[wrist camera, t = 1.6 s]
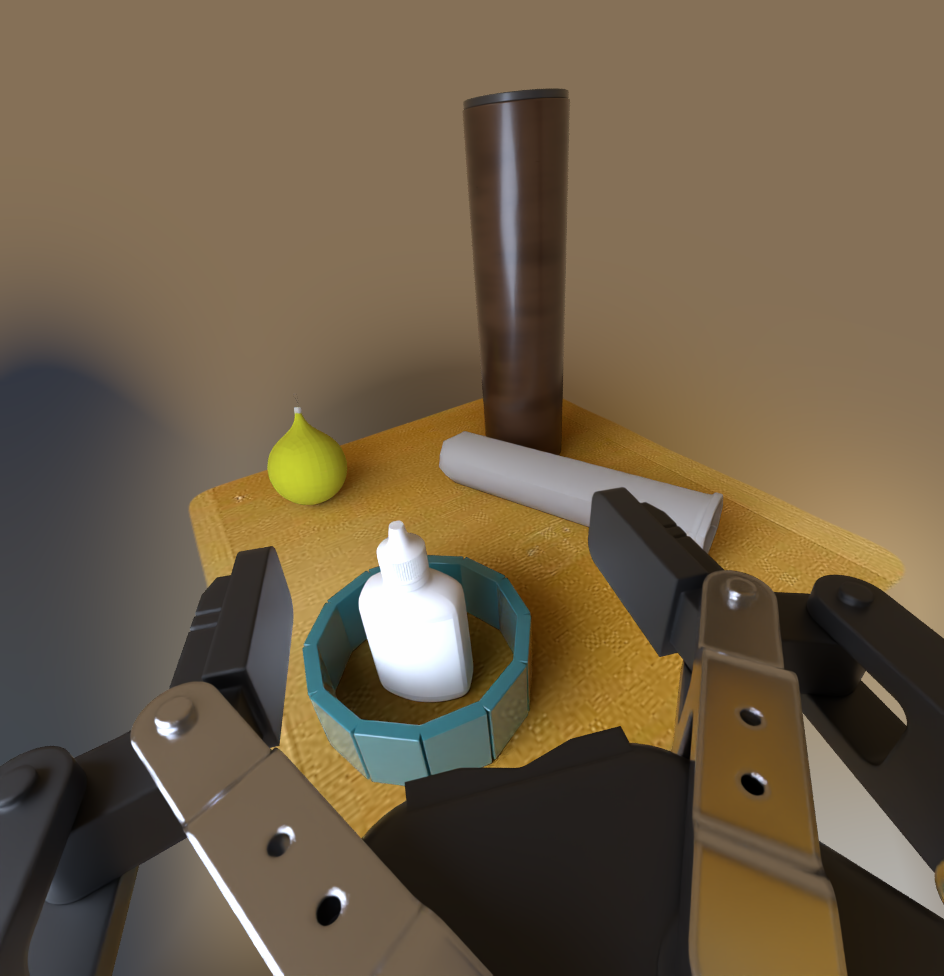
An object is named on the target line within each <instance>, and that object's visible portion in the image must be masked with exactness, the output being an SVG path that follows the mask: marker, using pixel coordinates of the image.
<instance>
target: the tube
mask: <svg viewBox="0 0 944 976" xmlns="http://www.w3.org/2000/svg"><path fill="white" fill-rule="evenodd" d="M439 467H440V468H441V470H442V471H443V472H444V473H445V474H446V475H447V476H448V477H449V478H451V479H452V480H453V481H454V482H455V483H458V484H461V485H464V486H467V487H470V488H473V489H476V490H479V491H482V492H485V493H488V494H491V495H494V496H497V497H500V498H503V499H506V500H509V501H512V502H515V503H518V504H521V505H524V506H527V507H530V508H533V509H536V510H539V511H542V512H545V513H548V514H551V515H554V516H557V517H560V518H563V519H566V520H569V521H572V522H575V523H578V524H581V525H584V526H587V527H589V524H590V513H591V503H592V496H593V494H594V493H595V492H596V491H602V490H608V489H614V488H619V487H624V488H626V489H627V490H628V491H629V492H630V493H631V494H632V495H633V496H634V497H635V498H636V499H637V500H638V501H639V502H640V503H643V502H647V503H649V504H651V505H653V506H655V507H656V508H658V509H660V510H662V511H664V512H665V513H666V514H667V515H668V516H669V517H670V518H671V519H672V520H673V521H674V522H675V523H676V525H677V526H680V527H681V528H682V529H683V530H684V531H685V532H686V533H687V536H690V537H691V538H692V539H693V540H694V541H695V542H696V543H697V544H698V545H699V546H700V547H701V548H702V549H703V550H704V551H705V552H706V553H707V554H708V553H709V550H710V548H711V545H712V542H713V539H714V536H715V534H716V531H717V528H718V525H719V520H720V516H721V512H722V508H723V495H722V494H719V493H714V494H712V495H711V494H705V493H701V492H698V491H694V490H690V489H686V488H682V487H678V486H674V485H671V484H667V483H663V482H659V481H655V480H651V479H647V478H643V477H640V476H636V475H632V474H628V473H624V472H620V471H616V470H613V469H609V468H605V467H601V466H597V465H593V464H589V463H585V462H582V461H578V460H574V459H570V458H566V457H562V456H558V455H554V454H551V453H547V452H543V451H539V450H535V449H531V448H527V447H524V446H520V445H516V444H512V443H508V442H504V441H500V440H496V439H493V438H489V437H485V436H481V435H477V434H473V433H469V432H465V431H464V432H462V433H460V434H458V435H456V436H454V437H452V438H450V439H447V440H445V441H444V442H443V446H442V450H441V454H440V463H439Z"/></svg>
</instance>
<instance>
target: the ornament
mask: <svg viewBox="0 0 944 976" xmlns="http://www.w3.org/2000/svg"><path fill="white" fill-rule="evenodd" d="M294 412H295V419H294V423H293V425H292V427H291V428H290V430H289V431H288V432H287V433H286V434H285V435H284V436H283V437H282V438H281V439H280V440H279V441H278V442H277V443H276V444H275V446H274V447H273V449H272V451H271V453H270V455H269V459H268V467H267V468H268V475H269V478H270V481H271V483H272V485H273V487H274V488H275V489H276V490H277V492H278V493H279V494H280V495H281V496H283V497H284V498H285V499H287V500H289V501H292V502H294V503H297V504H301V505H314V504H319V503H322V502H324V501H327V500H328V499H330V498H332V497H333V496H334V495H335V494H336V493H337V492H338V491H339V490H340V489H341V487H342V486H343V484H344V481H345V478H346V475H347V461H346V458H345V455H344V452H343V450H342V448H341V447H340V446H339V444H338V443H337V442H336V441H335V440H334V439H333V438H331V437H330V436H328V435H327V434H325V433H323V432H321V431H319V430H317V429H316V428H314V427H312V426H311V425H310V424H308V423H307V421H306V420H305V419H304V417H303V416H302V411H301V407H298V408H297V407H295V408H294Z"/></svg>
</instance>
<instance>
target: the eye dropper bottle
mask: <svg viewBox="0 0 944 976" xmlns="http://www.w3.org/2000/svg"><path fill="white" fill-rule="evenodd" d="M377 557H378V561H379V565H380V569H381V572H379V573H377V574H375V575H373V576H371V577H370V578H369V579H368V580H367V582H366V583H365V585H364V587H363V589H362V592H361V594H360V597H359V610H360V614H361V618H362V622H363V625H364V629H365V632H366V636H367V639H368V642H369V646H370V649H371V653H372V656H373V659H374V663H375V666H376V669H377V673H378V676H379V679H380V682H381V684H382V685H383V687H384V688H385V689H387V690H388V691H390V692H391V693H393V694H395V695H398V696H400V697H403V698H406V699H409V700H414V701H420V702H440V701H447V700H452V699H456V698H459V697H462V696H464V695H465V694H466V693H467V692H468V690H469V689H470V685H471V681H472V675H473V658H472V650H471V642H470V634H469V627H468V619H467V611H466V604H465V598H464V592H463V588H462V586H461V584H460V583H459V582H458V581H457V580H455V579H454V578H452V577H450V576H448V575H446V574H444V573H442V572H440V571H437V570H435V569H432V568H429V564H428V558H427V553H426V547H425V542H424V541H423V539H422V538H421V537H420V536H418V535H416V534H413V533H407V531H406V529H405V526H404V524H403V523H402V522H401V521H394V522H392V523H390V525H389V537H387V538H386V539H384V540H383V541H382V542H381V543H380V545H379V546H378V549H377Z"/></svg>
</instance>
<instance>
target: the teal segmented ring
mask: <svg viewBox="0 0 944 976" xmlns="http://www.w3.org/2000/svg"><path fill="white" fill-rule="evenodd" d="M427 558H428V564H429V568H432V569H435V570H437V571H440V572H442V573H444V574H446V575H448V576H450V577H452V578H454V579H455V580H457V581H458V582H459V583H460V584H461V586H462V588H463V592H464V598H465V604H466V611H467V612H468V613H470V614H472V615H473V616H475V617H477V618H479V619H481V620H482V621H484V622H486V623H488V624H489V625H491V626H493V627H495V628H497V629H498V630H500V631H501V633H502V635H503V637H504V638H505V640H506V642H507V644H508V645H509V647H510V649H511V651H512V652H513V654H514V655H513V661H512V662H511V663H510V664H509V665H508V667H507V668H506V669H505V670H504V671H503V673H502V674H501V675H500V676H499V678H498V679H497V680H496V681H495V682H494V684H493V685H492V686H491V687H490V689H489V690H488V691H487V692H486V693H485V695H484V696H483V697H482V698H481V700H480V701H478V702H475V703H473V704H471V705H468V706H466V707H463V708H461V709H458V710H456V711H454V712H451V713H449V714H446V715H444V716H441V717H439V718H436V719H434V720H432V721H429V722H427V723H424V724H422V725H412V724H402V723H392V722H383V721H373V720H363V719H360V718H359V717H358V716H357V715H355V714H354V713H353V712H352V711H351V710H349V709H348V708H347V707H346V706H345V705H344V704H342V703H341V702H340V701H339V700H338V699H337V698H336V692H335V691H336V689H337V686H338V684H339V681H340V679H341V677H342V674H343V672H344V670H345V667H346V665H347V662H348V660H349V658H350V655H351V653H352V651H353V650H355V649H356V648H357V647H358V646H359V645H360V644H361V643H363V642H364V641H365V640H366V639H367V636H366V632H365V629H364V625H363V622H362V618H361V614H360V610H359V597H360V594H361V592H362V589H363V587H364V585H365V583H366V582H367V580H368V579H369V578H370V577H371V576H373V575H375V574H377V573H379V572H381V569H380V566H378V567H375V568H372V569H369V572H368V571H365V572H364V573H362V574H361V575H360V576H358V577H357V578H356V579H354V580H353V581H352V582H351V583H349V584H348V585H347V586H345V587H344V588H343V589H341V590H340V591H339V592H338V593H336V594H335V595H334V596H332V597H331V598H330V599H328V603H325V604H324V606H323V608H322V610H321V612H320V614H319V616H318V618H317V620H316V622H315V624H314V625H313V627H312V629H311V631H310V633H309V635H308V637H307V639H306V641H305V643H304V647H303V656H304V665H305V673H306V681H307V689H308V695H309V697H310V700H311V702H312V704H313V706H314V709H315V711H316V713H317V716H318V718H319V720H320V722H321V725H322V727H323V729H324V731H325V734H326V736H327V738H328V740H329V742H330V744H331V745H332V746H333V747H334V748H335V749H336V750H337V751H338V752H339V753H340V754H341V755H342V756H343V757H344V758H345V759H346V760H347V761H349V762H350V763H351V764H352V765H353V766H354V767H355V768H356V769H357V770H358V771H359V772H360V773H361V774H362V775H363V776H364V777H366V778H367V779H370V778H371V781H372V782H379V783H388V784H396V785H404V786H405V782H407V781H411V780H415V779H419V778H423V777H426V776H430V775H434V774H438V773H442V772H446V771H449V770H453V769H457V768H482V767H484V766H486V765H489V764H491V763H492V758H493V759H496V758H497V757H498V755H499V754H500V753H501V751H502V750H503V748H504V747H505V746H506V744H507V743H508V741H509V740H510V739H511V737H512V736H513V735H514V733H515V732H516V730H517V729H518V728H519V726H520V725H521V723H522V722H523V721H524V719H525V718H526V717H527V715H528V711H529V710H530V693H531V676H532V630H531V615H530V611H529V610H528V608H527V607H526V605H525V604H524V602H523V601H522V599H521V598H520V596H519V595H518V593H517V592H516V590H515V589H514V587H513V586H512V584H511V583H510V581H509V580H508V578H505V575H503V574H501V573H499V572H496V571H494V570H492V569H490V568H488V567H486V566H484V565H482V564H480V563H478V562H476V561H474V560H472V559H469V558H467V557H466V558H464V557H462V556H439V555H427Z"/></svg>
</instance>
